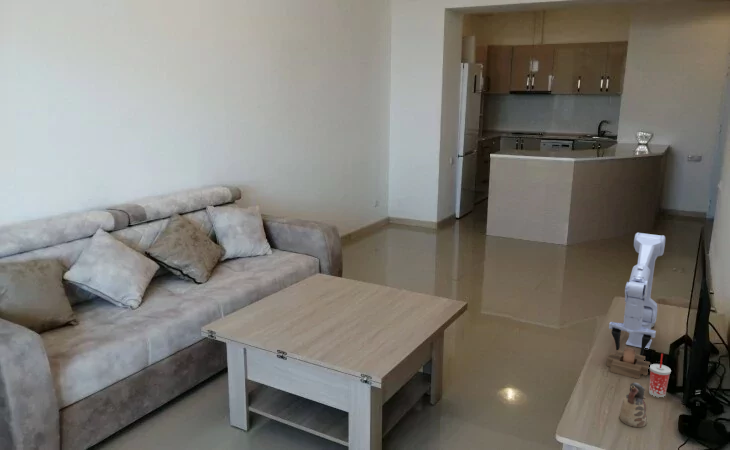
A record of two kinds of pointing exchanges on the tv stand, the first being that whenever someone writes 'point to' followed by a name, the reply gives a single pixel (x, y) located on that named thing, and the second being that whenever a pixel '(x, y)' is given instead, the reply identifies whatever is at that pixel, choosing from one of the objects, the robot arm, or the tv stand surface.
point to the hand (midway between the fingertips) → (629, 351)
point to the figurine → (634, 407)
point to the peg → (629, 355)
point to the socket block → (627, 365)
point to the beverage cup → (659, 379)
